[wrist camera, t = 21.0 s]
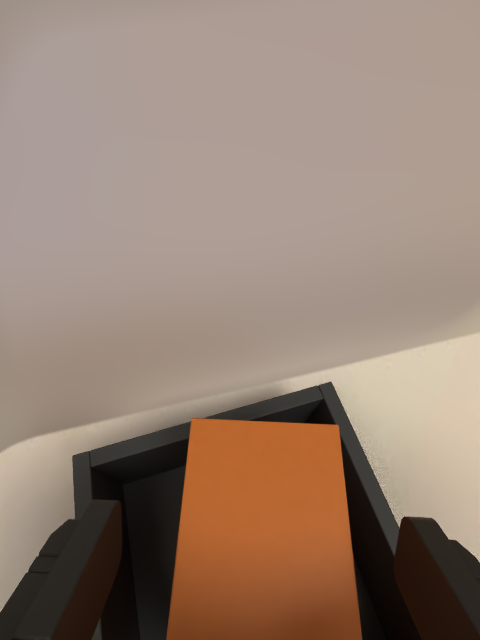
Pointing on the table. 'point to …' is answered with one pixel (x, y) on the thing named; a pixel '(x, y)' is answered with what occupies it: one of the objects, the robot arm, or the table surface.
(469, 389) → the table surface
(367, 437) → the table surface
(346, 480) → the bin
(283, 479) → the block
